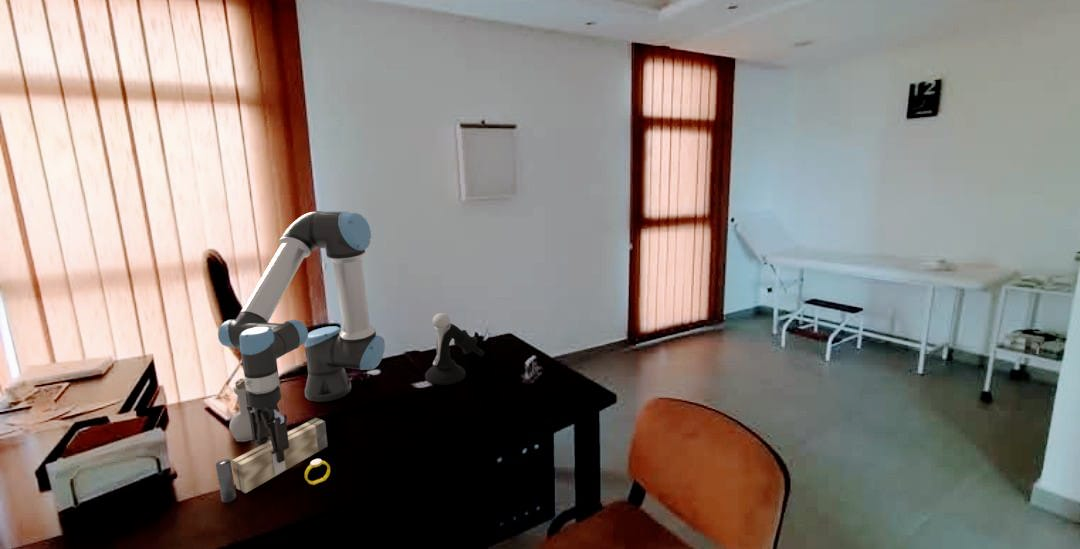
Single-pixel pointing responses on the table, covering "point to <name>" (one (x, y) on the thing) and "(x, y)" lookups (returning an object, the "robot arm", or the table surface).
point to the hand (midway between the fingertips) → (274, 468)
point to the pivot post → (225, 480)
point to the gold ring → (315, 464)
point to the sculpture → (444, 366)
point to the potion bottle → (241, 415)
